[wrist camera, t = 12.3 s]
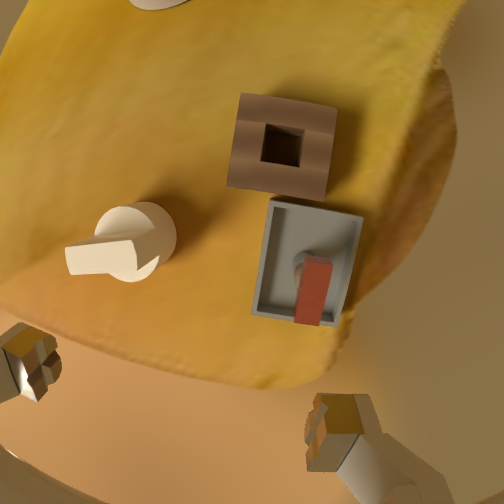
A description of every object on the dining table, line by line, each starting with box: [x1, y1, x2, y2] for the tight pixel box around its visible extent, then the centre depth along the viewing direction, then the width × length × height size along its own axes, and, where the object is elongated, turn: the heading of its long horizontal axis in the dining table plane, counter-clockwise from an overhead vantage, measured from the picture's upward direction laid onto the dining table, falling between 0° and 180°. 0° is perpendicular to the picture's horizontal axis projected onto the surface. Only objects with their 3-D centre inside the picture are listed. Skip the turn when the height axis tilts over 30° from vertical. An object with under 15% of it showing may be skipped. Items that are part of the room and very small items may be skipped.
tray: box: [251, 199, 364, 327], centre depth 36 cm, size 14×11×3 cm
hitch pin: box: [292, 251, 333, 326], centre depth 32 cm, size 6×3×10 cm, turn 172°
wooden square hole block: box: [226, 93, 338, 202], centre depth 32 cm, size 10×10×6 cm
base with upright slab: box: [65, 202, 177, 282], centre depth 33 cm, size 9×9×12 cm
